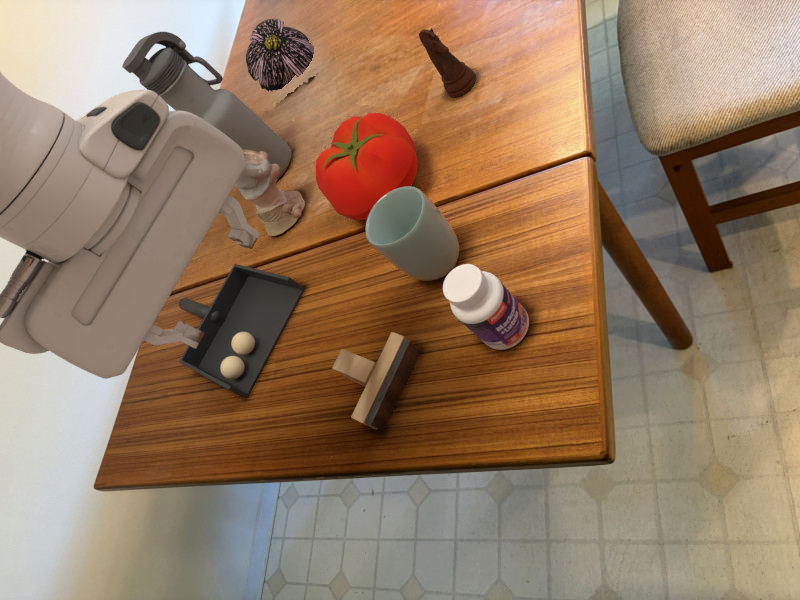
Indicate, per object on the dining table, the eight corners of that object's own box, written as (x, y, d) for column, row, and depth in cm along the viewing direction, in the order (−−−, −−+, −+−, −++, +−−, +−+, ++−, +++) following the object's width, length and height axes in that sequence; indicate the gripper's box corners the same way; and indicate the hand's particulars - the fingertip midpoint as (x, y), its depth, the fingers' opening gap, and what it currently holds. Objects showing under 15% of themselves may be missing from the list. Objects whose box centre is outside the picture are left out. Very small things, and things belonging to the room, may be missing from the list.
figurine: (301, 231, 86) (197, 148, 72) (264, 241, 91) (159, 165, 77) (314, 185, 90) (218, 98, 76) (278, 197, 95) (181, 117, 81)
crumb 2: (252, 371, 77) (243, 350, 78) (231, 376, 75) (223, 355, 75) (241, 379, 79) (233, 359, 80) (221, 385, 77) (213, 364, 77)
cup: (408, 294, 67) (358, 252, 60) (417, 240, 71) (371, 194, 64) (465, 285, 63) (419, 238, 56) (472, 228, 66) (429, 177, 59)
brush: (367, 425, 56) (315, 400, 59) (385, 434, 61) (335, 410, 64) (409, 337, 59) (356, 317, 62) (423, 351, 63) (373, 332, 66)
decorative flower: (245, 77, 101) (224, 27, 107) (272, 119, 112) (251, 71, 118) (317, 41, 101) (291, -8, 107) (337, 86, 111) (312, 39, 118)
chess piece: (461, 100, 79) (424, 45, 72) (440, 94, 82) (402, 41, 75) (482, 75, 79) (447, 18, 72) (459, 69, 82) (424, 15, 75)
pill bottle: (523, 353, 55) (478, 311, 48) (476, 348, 58) (428, 307, 51) (536, 304, 56) (495, 256, 50) (489, 302, 60) (445, 256, 53)
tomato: (375, 251, 74) (327, 210, 67) (332, 197, 86) (287, 157, 79) (453, 174, 73) (412, 123, 66) (398, 130, 84) (359, 82, 77)
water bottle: (271, 145, 105) (140, 27, 85) (303, 142, 99) (170, 14, 79) (245, 190, 103) (105, 79, 83) (277, 190, 96) (132, 71, 76)
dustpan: (305, 288, 79) (289, 277, 77) (247, 397, 75) (228, 389, 73) (216, 264, 96) (200, 254, 94) (165, 352, 92) (147, 345, 90)
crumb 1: (254, 349, 76) (259, 330, 78) (230, 343, 76) (236, 325, 78) (250, 361, 79) (255, 342, 81) (227, 355, 78) (233, 337, 80)
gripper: (-17, 344, 33) (179, 415, 42) (163, 70, 37) (303, 191, 47) (-38, 322, 37) (145, 391, 47) (127, 79, 41) (262, 188, 51)
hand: (225, 289), depth 47 cm, fingers open, 8 cm apart
